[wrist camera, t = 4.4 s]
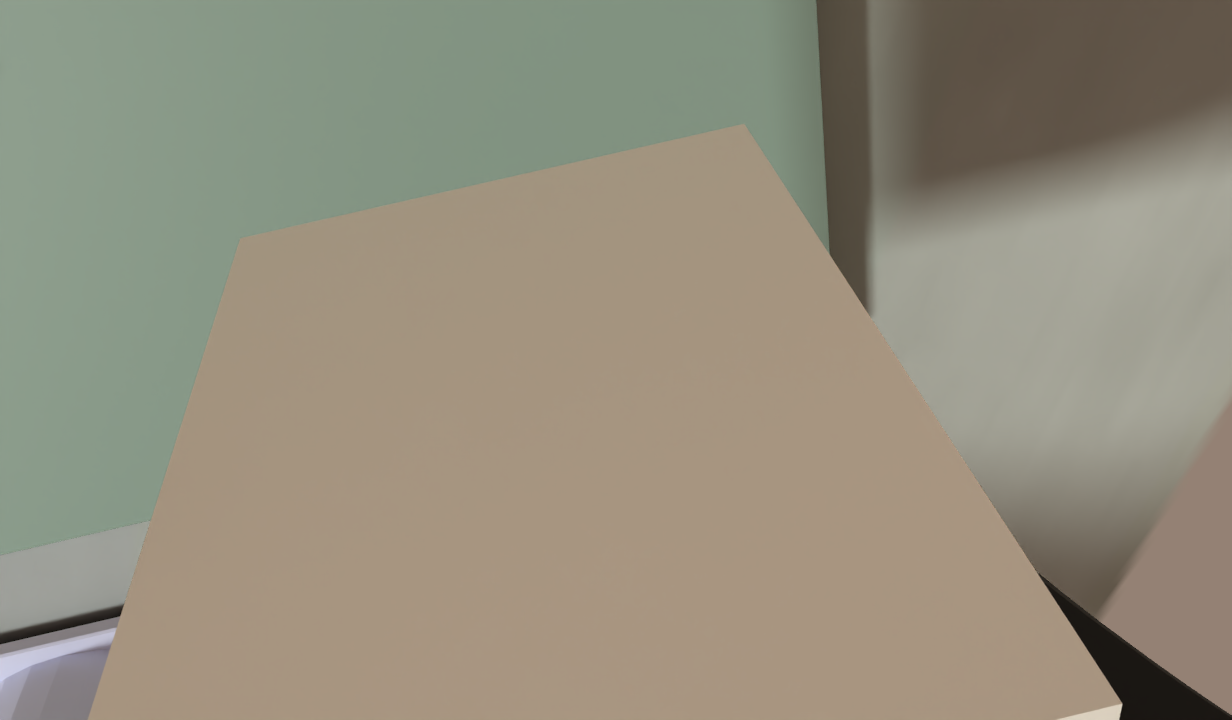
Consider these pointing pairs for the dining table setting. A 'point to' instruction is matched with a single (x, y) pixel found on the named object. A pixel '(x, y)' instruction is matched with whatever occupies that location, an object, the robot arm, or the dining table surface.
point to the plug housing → (575, 478)
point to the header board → (300, 174)
